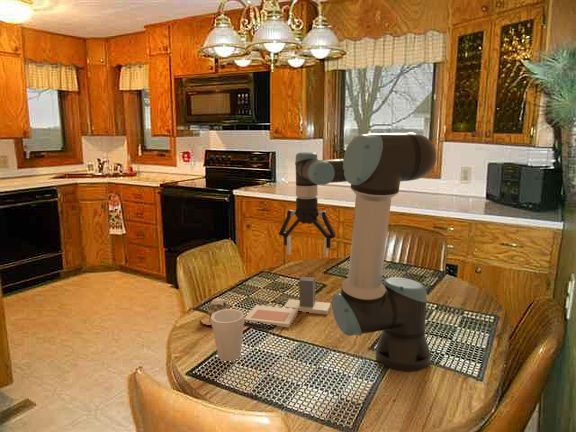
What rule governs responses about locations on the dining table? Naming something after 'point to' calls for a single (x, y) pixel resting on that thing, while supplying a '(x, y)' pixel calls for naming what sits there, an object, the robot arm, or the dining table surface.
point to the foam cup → (228, 333)
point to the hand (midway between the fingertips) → (307, 255)
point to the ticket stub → (308, 298)
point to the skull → (216, 307)
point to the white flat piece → (272, 315)
